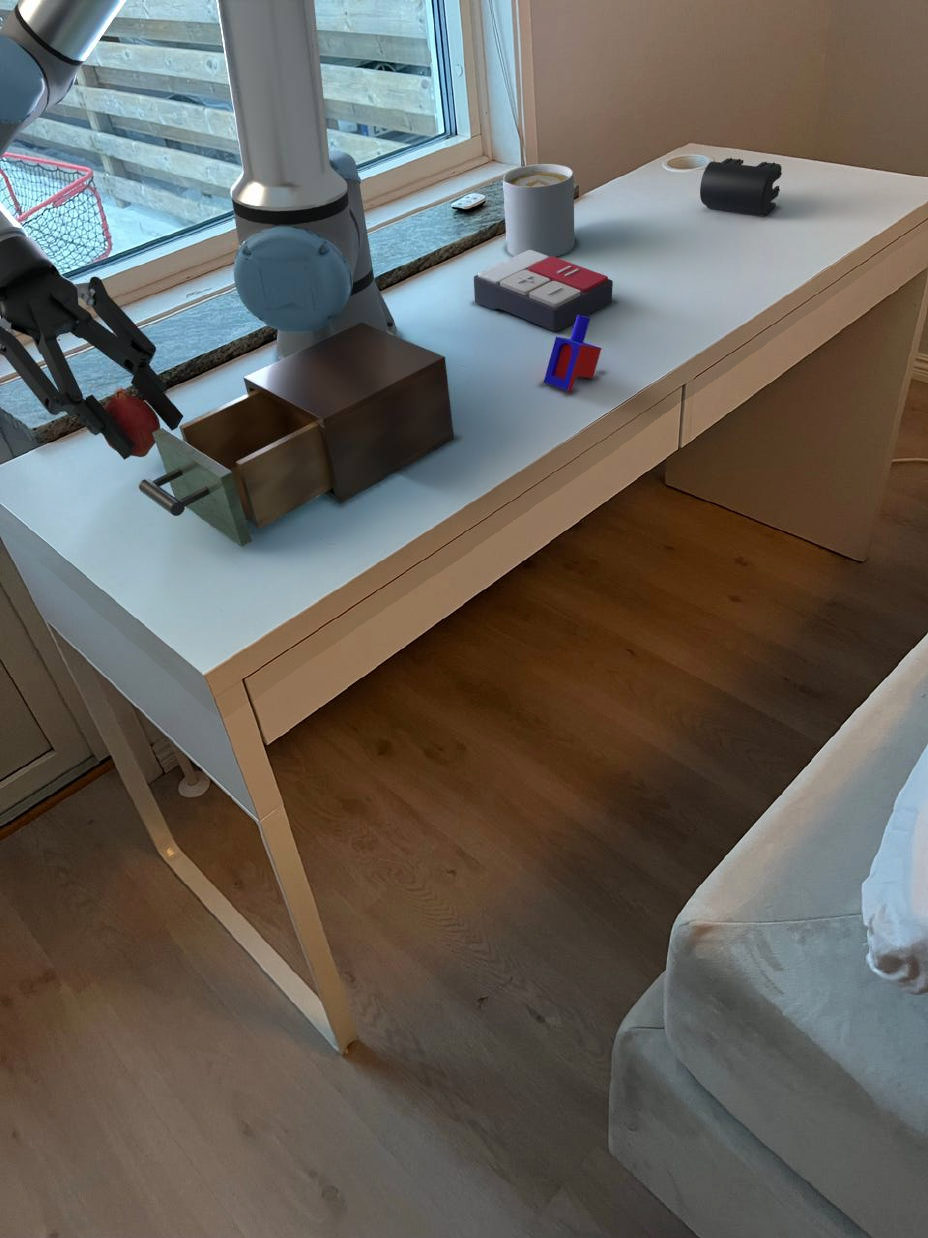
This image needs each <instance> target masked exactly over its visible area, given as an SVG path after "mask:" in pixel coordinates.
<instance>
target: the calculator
mask: <svg viewBox="0 0 928 1238" xmlns="http://www.w3.org/2000/svg"><path fill="white" fill-rule="evenodd" d="M613 284H614V282H613V280H612V279H610V278H609V276H608V275H605V274H603V273H600V272H597V271H594V270H592V269H589V268H586V267H583V266H580V265H578V264H575V263H573V262H570V261H567V260H564V259H561V258H558V257H549V256H547V255H544V254H541V253H538V252H536V251H533V250H528V251H526V252H524V253H521V254H519V255H517V256H512V257H511V258H508V259H507V260H504V261H503V262H500V263H498V264H496V265H493V266H491V267H490V268H486V269H485V270H483V271H480V272H478V273H477V274H476V275H474V276H473V292H474V293H473V294H474V303H476V304H478V305H481V306H482V307H485V308H487V309H490V310H492V311H495V310H497V309H499V310H503V311H504V312H507V313H509V314H511V315H513V316H517V317H518V318H521V319H523V320H525V321H528V322H531V323H532V324H535V325H538V326H540V327H543V328H545V329H546V330H549V331H552V332H559V331H561V330H562V329H563V330H564V329H565V328H567V327H569V326H571V325H573V324H575V321H576V318H577V315H581V316H585V317H588V316H589V315H591V314H594V313H595V312H596V311H598V310H600V309H602V308H604V307H606V306H608V305H611V303H612V302H613V287H614V285H613Z"/></svg>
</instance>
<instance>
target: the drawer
mask: <svg viewBox="0 0 928 1238" xmlns="http://www.w3.org/2000/svg"><path fill="white" fill-rule="evenodd" d="M178 429H179V431H180V434H181V437H182V439H181V438H180V437H178V436H176V435H175V434H174V433H172V432H170V431H168V430H167V429H166V428H164V427H160V429H159V430H157V431H155V432H153V433H152V434H153V436H154V439H155V442H156V443H155V445H156V448H157V451H158V454H159V456H160V459H161V463H162V466H163V468H164V470H165V471H164V472H165V473H164V474H163V475H161V476H159V477H157V478H155V479H153V480H151V479H149V478H146V479H142V480H141V481H140V482H139V483H138V490H139V491H140V493H142V494H143V495H145V496H146V497H148V498H149V499H151V500H152V501H153V502H154V503H156V504H157V505H158V506H159V507H161V508H163V509H164V510H165V511H166V512H168V513H169V514H171V515H172V516H174V517H179V516H181V515H182V514H183V513H184V511H185V508H187V509H188V510H190V511H191V512H192V513H194V514H195V515H197V516H198V517H199V518H201V519H202V520H204V522H206V523H208V524H209V525H210V526H212V527H214V528H215V529H216V530H218V531H219V532H220V533H222V534H223V535H225V536H226V537H227V538H229V539H230V540H231V541H233V542H234V543H236V544H237V545H239V546H240V547H242V548H243V547H244V546H247V545H249V544H250V543H252V542H253V539H252V535H251V532H250V528H249V526H248V523H249V524H250V525H252V526H253V527H255V528H256V529H257V530H261V529H263V528H264V527H266V526H268V525H269V524H271V523H273V522H275V521H276V520H279V519H280V518H282V517H284V516H286V515H287V514H289V513H292V511H295V510H296V509H298V508H300V507H301V506H304V505H306V504H307V503H309V502H311V501H313V500H314V499H316V498H318V497H320V496H321V495H324V493H325V492H327V491H328V490H330V489H332V488H333V484H332V479H331V475H330V470H329V466H328V461H327V456H326V452H325V447H324V442H323V438H322V433H321V428H320V424H318V423H317V422H315V421H313V420H311V419H309V418H307V417H305V416H303V415H302V414H300V413H298V412H296V411H294V410H292V409H290V408H288V407H287V406H285V405H283V404H281V403H279V402H277V401H275V400H274V399H272V398H270V397H268V396H266V395H264V394H262V393H260V392H259V391H257V390H254V391H252V392H250V393H246V394H244V395H242V396H239V397H238V398H235V399H233V400H231V401H229V402H227V403H225V404H223V405H221V406H218V407H216V408H214V409H212V410H210V411H207V412H206V413H204V414H202V415H199V416H198V417H195V418H193V419H191V420H188V421H187V422H184V423H183V424H179V425H178ZM167 483H169V485H170V488H171V491H172V493H173V494H171V493H169V492H168V491H167V490H165V489H164V488H162V486H164V485H165V484H167Z"/></svg>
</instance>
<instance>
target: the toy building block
mask: <svg viewBox="0 0 928 1238" xmlns="http://www.w3.org/2000/svg"><path fill="white" fill-rule="evenodd" d="M590 321H591V317H588V316H581V315H577V318H576V321H575V322H574V325H573V329H572V332H571V335H570V338H568V337H560V336H555V338H554V343H553V346H552V350H551V353H550V357H549V361H548V365H547V368H546V372H545V375H544V379H543V383H545V384H547V385H550V386H552V387H555V388H558V389H561V390H564V391H566V392H572V391H573V388H574V385H575V382H576V378H577V377H578V378H587V379H593V378H594V375H595V372H596V369H597V365H598V362H599V359H600V355H601V351H602V347H600V346H596V345H594V344H591V343H588V342H585V338H586V335H587V332H588V328H589V324H590Z"/></svg>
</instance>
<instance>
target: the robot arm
mask: <svg viewBox="0 0 928 1238" xmlns="http://www.w3.org/2000/svg"><path fill="white" fill-rule="evenodd" d="M16 2H17V3H16V5H15V6H14V7H13V8H12V9H11V12H10V13H9V15H8V17H7V18H6V20H5V21H4V23H3V24H2V26H1V28H0V160H1V159H2V158H3V156H4V155H5V153H6V152H7V150H8V149H9V148H10V146H11V145H12V143H13V142H14V141H15V140H16V138H17V137H18V135H19V134H20V133H21V132H23V131H24V130H25V129H26V128H27V127H29V126H30V125H31V124H32V123H34V122H35V121H36V120H37V119H38V118H40V117H41V116H42V115H43V114H44V113H45V112H47V111H48V110H49V109H50V108H52V107H53V106H56V105H58V104H60V103H61V102H62V101H63V100H64V99H65V98H66V96H68V94H69V93H70V91H71V90H72V89H73V86H74V84H75V83H76V79H77V75H78V73H79V71H80V69H81V68H82V66H83V64H84V62H85V61H86V59H87V58H88V57H89V55H90V54H91V52H92V51H93V49H94V48H95V46H96V45H97V43H98V42H99V40H100V39H101V37H102V36H103V35H104V33H105V32H106V30H107V28H108V27H109V26H110V24H111V23H112V21H113V19H114V18H115V17H116V16H117V14H118V12H119V11H120V9H121V8H122V7H123V6H124V4H125V2H126V0H17V1H16ZM315 5H316V3H315V0H216V7H217V10H218V11H217V12H218V19H219V24H220V31H221V36H222V37H221V38H222V43H223V51H224V57H225V65H226V70H227V76H228V77H227V78H228V84H229V90H230V96H231V103H232V108H233V115H234V122H235V123H234V124H235V129H236V135H237V143H238V148H239V154H240V155H239V156H240V160H241V161H240V162H241V167H242V173H241V174H240V176H239V177H238V179H237V180H236V181H235V183H234V184H233V185H232V186H231V188H230V198H231V203H232V209H233V216H234V222H235V228H236V234H237V241H238V249H237V251H236V253H235V257H234V261H233V265H234V266H233V281H234V286H235V289H236V292H237V294H238V297H239V299H240V300H241V302H242V304H243V305H244V307H245V308H246V309H247V310H248V311H249V313H250V314H252V316H254V317H256V318H257V319H258V320H259V321H261V322H263V323H264V325H266V326H267V327H269V328H273V329H275V330H277V336H276V349H277V353H278V357H279V361H280V360H282V359H284V358H286V357H288V356H290V355H293V354H295V353H297V352H299V351H301V350H303V349H306V348H308V347H310V346H312V345H314V344H316V343H318V342H321V341H323V340H325V339H327V338H329V337H331V336H333V335H336V334H338V333H340V332H342V331H344V330H346V329H349V328H351V327H353V326H355V325H357V324H359V323H364V324H367V325H369V326H372V327H374V328H376V329H379V330H381V331H384V332H386V333H389V334H391V335H393V336H396V337H398V338H399V335H398V327H397V325H396V322H395V319H394V317H393V314H392V313H391V311H390V310H389V307H388V306H387V303H386V302H385V299H384V297H383V295H382V293H381V291H380V290H379V287H378V285H377V283H376V280H375V273H374V267H373V261H372V254H371V249H370V242H369V241H370V240H369V235H368V229H367V223H366V215H365V210H364V204H363V195H362V189H361V183H362V179H361V177H360V176H359V171H358V168H357V163H356V160H355V158H354V157H353V156H352V155H351V154H349V153H347V152H344V151H338V150H329V149H330V148H329V138H328V130H327V128H328V127H327V119H326V109H325V100H324V99H325V97H324V88H323V87H324V86H323V78H322V77H323V76H322V67H321V57H320V47H319V37H318V35H319V34H318V26H317V16H316V6H315ZM79 299H82V300H83V301H84V302H85V305H86V306H87V307H91V308H92V309H93V311H94V312H95V314H96V315H97V316H98V317H99V318H100V320H102V322H103V323H104V324H105V325H106V326H107V327H108V328H109V329H110V330H109V329H108V328H107V327H106V326H104V325H102V324H101V323H100V322H98V321H97V320H96V319H94V317H93V315H92V314H91V313H90V312H89V311H88V310H87V309H85V308H84V307H83V306H81V305H80V304H79ZM15 332H17V333H20V334H23V335H24V336H28V337H30V338H32V342H33V343H34V345H35V348H36V350H37V352H38V353H39V355H41V356H42V358H43V360H44V362H45V364H46V366H47V368H48V371H49V373H50V375H51V377H52V379H53V381H51V379H50V378H49V377H48V375H47V374H46V373H45V371H44V370H43V369H42V368H41V367H40V365H39V363H38V362H37V361H36V360H35V359H34V358H33V356H32V355H31V354H30V352H29V351H28V350H27V349H26V347H25V346H24V345H23V344H22V343H21V341H20V340H19V339H18V338H17V337H16V333H15ZM69 333H70V334H72V335H73V336H75V338H77V339H83V340H84V341H86V342H87V343H88V344H89V345H91V346H92V347H93V348H95V349H96V350H98V352H101V354H103V355H105V356H106V357H107V358H109V359H110V360H112V361H113V362H114V363H115V364H117V365H118V366H120V367H121V368H122V369H124V370H125V371H126V372H128V373H129V374H131V375H132V376H133V377H132V379H131V381H130V384H131V385H132V386H133V387H134V388H135V390H136V391H137V392H138V393H139V395H140V396H142V398H143V399H144V400H145V402H146V403H147V404H148V405H149V406H150V407H151V408H152V409H153V410H154V412H155V413H156V415H157V416H158V417H159V418H160V419H161V420H162V422H164V424H165V425H166V426H167V427H168V428H169V430H170V431H172V432H173V431H174V430H177V429H178V428H179V426H180V423H181V422H182V419H183V418H184V414H182V412H181V411H180V410H179V409H178V407H177V406H176V405H175V404H174V403H173V401H171V399H170V397H168V396H167V392H168V387H167V385H166V383H165V382H164V381H163V380H162V379H161V378H160V376H159V375H158V374H157V373H156V372H155V370H153V369H154V368H152V367H151V365H150V364H151V363H152V361H153V359H154V357H155V353H156V352H157V346H155V344H154V343H153V342H152V341H151V340H150V339H149V337H148V336H147V335H146V334H145V333H144V332H143V331H142V330H141V329H140V328H139V327H138V325H136V324H135V322H134V321H133V320H132V319H131V318H130V317H129V316H128V314H126V312H125V311H124V310H123V309H122V308H121V307H120V306H119V305H118V304H117V302H115V301H114V300H113V298H112V297H111V296H110V295H109V293H108V291H107V289H106V287H105V285H104V282H103V281H102V279H101V278H100V277H98V276H91V277H90V279H89V282H88V281H87V282H82V283H74V281H72V280H70V279H68V278H67V277H65V276H64V275H62V274H61V272H60V271H59V269H58V268H57V267H56V265H55V263H54V261H52V259H51V258H50V257H49V256H48V254H46V252H45V251H44V250H43V249H42V247H41V246H40V245H39V244H38V243H37V242H36V240H35V239H33V238H32V237H30V236H29V234H28V232H27V230H26V229H25V228H24V227H23V226H22V224H21V223H20V222H19V221H18V220H17V218H15V216H14V215H13V214H12V212H10V210H9V209H8V208H7V207H6V205H5V204H4V203H3V202H2V200H0V355H1V356H3V357H4V358H5V359H6V361H7V362H8V363H9V364H10V365H11V367H12V368H13V369H14V371H15V372H16V373H17V374H18V376H19V377H20V378H21V380H22V381H23V382H24V383H25V384H26V386H27V387H28V388H29V389H30V391H31V392H32V393H33V395H34V396H35V397H36V398H37V399H38V401H39V402H40V403H41V405H42V406H43V408H45V410H47V412H48V413H49V414H50V415H52V416H57V415H59V414H60V413H64V412H66V414H67V415H69V416H76V417H77V419H78V420H79V421H80V422H81V424H83V425H84V426H85V428H86V429H87V430H88V431H89V432H90V434H92V435H93V436H98V435H100V434H101V435H102V436H103V438H104V439H105V438H106V439H107V440H108V442H109V443H110V444H111V445H112V446H113V447H114V448H115V450H116V452H117V453H118V454H119V455H120V457H121V458H122V459H123V460H124V461H125V460H127V459H128V458H130V457H132V456H131V454H132V452H133V450H134V448H135V446H136V445H135V444H134V443H133V441H132V440H131V439H130V438H129V437H128V436H127V434H126V433H125V432H124V431H123V430H122V429H121V427H120V426H119V425H118V424H117V423H116V422H115V420H114V419H113V418H112V417H111V416H110V415H109V413H108V412H107V411H106V410H105V407H104V406H103V405H102V404H101V403H100V402H99V401H98V399H97V398H96V396H94V395H93V394H90V395H87V396H86V397H84V395H83V392H82V390H81V388H80V386H79V384H78V382H77V380H76V378H75V376H74V373H73V371H72V369H71V366H70V364H69V363H68V361H67V358H66V356H65V354H64V352H63V350H62V348H61V346H60V343H59V342H58V339H57V338H58V337H60V335H66V334H69ZM53 382H54V383H55V384H54V383H53ZM106 439H105V440H106ZM115 450H114V451H115Z"/></svg>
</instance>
